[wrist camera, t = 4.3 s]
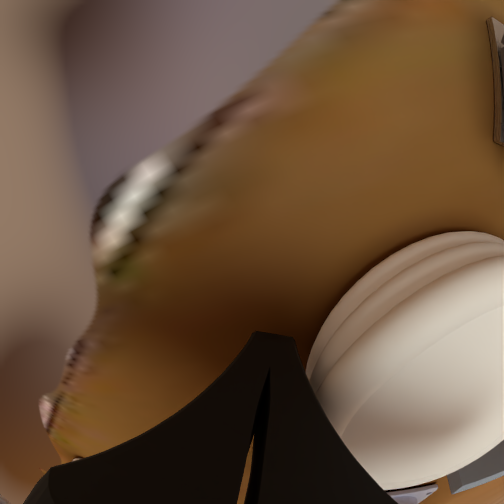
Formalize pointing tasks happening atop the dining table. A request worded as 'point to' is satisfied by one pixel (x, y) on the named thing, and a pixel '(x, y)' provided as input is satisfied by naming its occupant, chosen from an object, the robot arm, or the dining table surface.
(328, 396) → the cream round disc
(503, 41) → the wheel
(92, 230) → the dining table surface
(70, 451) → the dining table surface
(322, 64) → the dining table surface
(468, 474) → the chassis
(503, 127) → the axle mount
